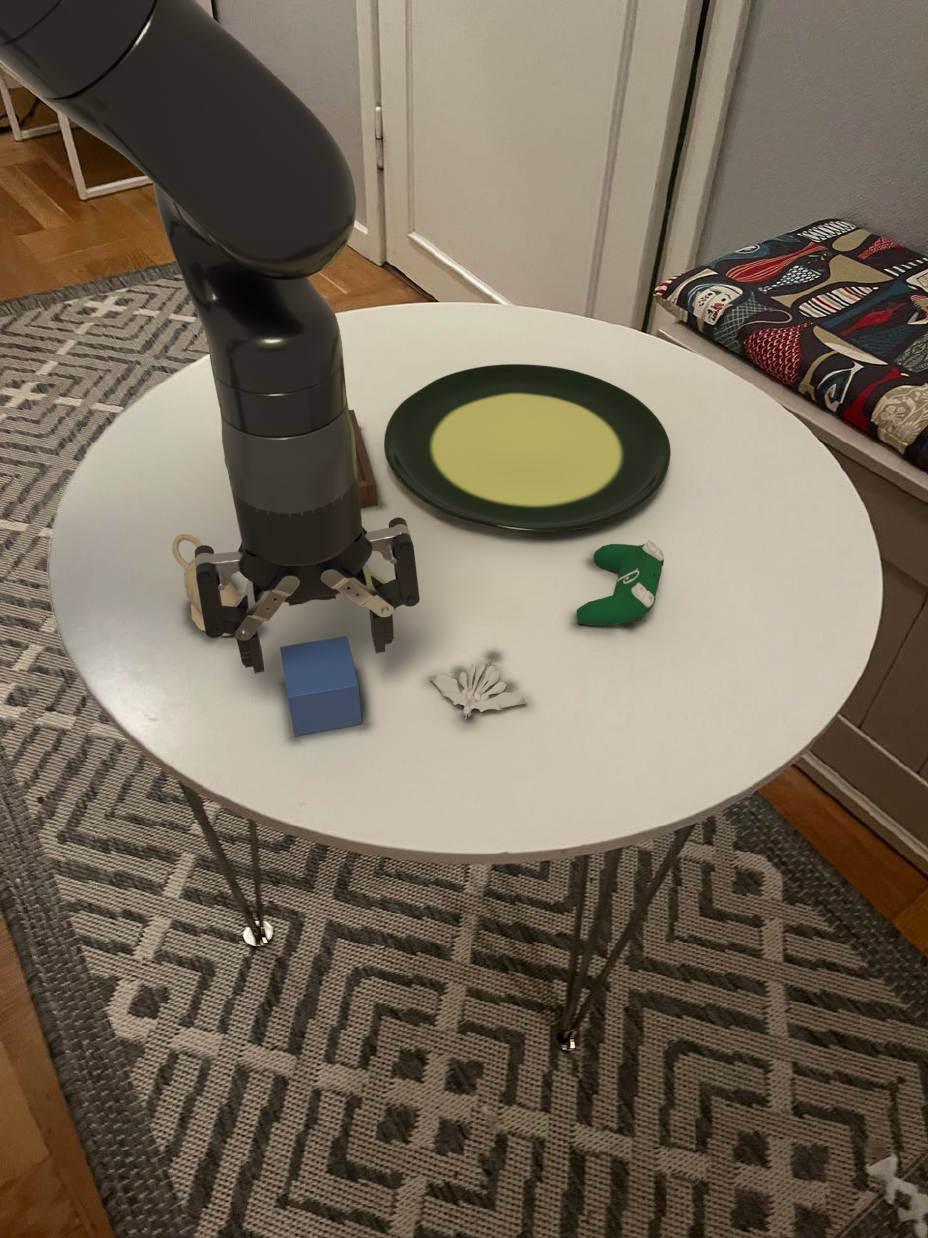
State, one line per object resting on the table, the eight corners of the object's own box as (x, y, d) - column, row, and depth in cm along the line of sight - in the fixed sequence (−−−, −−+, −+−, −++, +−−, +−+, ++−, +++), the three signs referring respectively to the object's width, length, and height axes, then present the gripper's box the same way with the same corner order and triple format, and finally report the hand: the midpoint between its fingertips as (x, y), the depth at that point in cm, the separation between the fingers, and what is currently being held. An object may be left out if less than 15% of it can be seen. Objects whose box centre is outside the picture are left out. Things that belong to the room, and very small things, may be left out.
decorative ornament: (208, 650, 76) (196, 602, 72) (176, 585, 81) (163, 537, 77) (256, 632, 77) (247, 584, 73) (222, 570, 82) (212, 522, 78)
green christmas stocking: (597, 648, 79) (657, 624, 75) (569, 618, 78) (629, 592, 74) (618, 576, 85) (674, 551, 82) (592, 547, 84) (648, 520, 80)
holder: (263, 521, 87) (259, 500, 85) (250, 443, 96) (247, 422, 94) (377, 505, 89) (376, 484, 87) (355, 430, 97) (353, 409, 96)
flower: (446, 652, 77) (448, 625, 76) (541, 676, 76) (545, 649, 74) (414, 710, 72) (415, 682, 70) (516, 737, 70) (520, 709, 68)
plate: (453, 583, 82) (453, 562, 80) (345, 414, 99) (343, 394, 98) (724, 504, 90) (729, 483, 88) (580, 361, 108) (582, 341, 106)
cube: (294, 736, 70) (287, 697, 67) (286, 686, 73) (279, 646, 70) (362, 724, 71) (358, 685, 68) (351, 675, 74) (347, 635, 71)
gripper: (171, 525, 52) (221, 712, 64) (424, 490, 55) (428, 675, 66) (167, 447, 57) (214, 633, 69) (399, 418, 60) (407, 602, 72)
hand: (319, 654), depth 68 cm, fingers open, 8 cm apart
